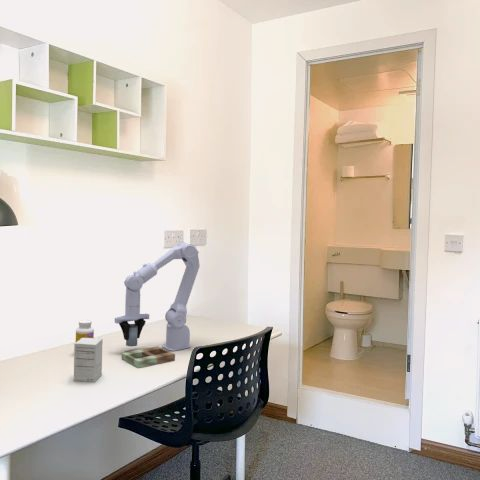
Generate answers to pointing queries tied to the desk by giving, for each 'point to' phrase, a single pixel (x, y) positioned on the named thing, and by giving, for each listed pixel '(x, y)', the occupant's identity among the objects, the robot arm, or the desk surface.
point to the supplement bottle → (84, 330)
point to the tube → (132, 335)
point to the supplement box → (88, 359)
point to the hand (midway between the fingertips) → (131, 338)
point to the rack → (148, 357)
